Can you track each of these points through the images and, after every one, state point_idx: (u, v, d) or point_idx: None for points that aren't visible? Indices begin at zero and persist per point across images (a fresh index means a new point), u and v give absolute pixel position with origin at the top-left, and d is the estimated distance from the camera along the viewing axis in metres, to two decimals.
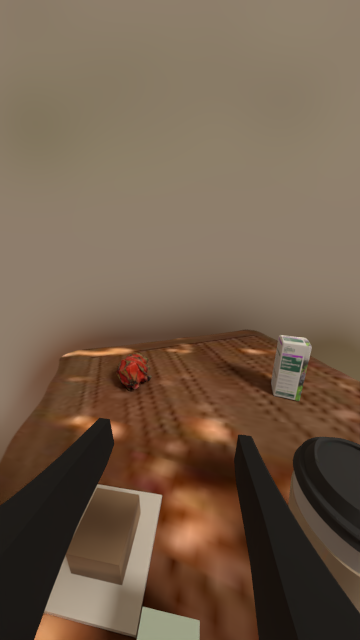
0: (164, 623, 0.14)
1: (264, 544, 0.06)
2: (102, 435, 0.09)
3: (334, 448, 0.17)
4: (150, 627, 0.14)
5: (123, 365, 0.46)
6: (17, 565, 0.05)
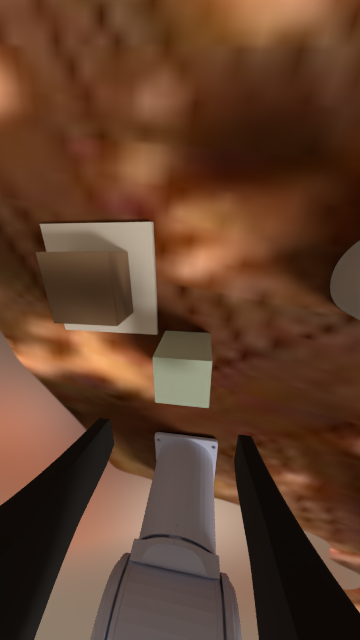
0: (176, 364, 0.14)
1: (264, 544, 0.06)
2: (102, 435, 0.09)
3: None
4: (163, 366, 0.14)
5: None
6: (17, 565, 0.05)
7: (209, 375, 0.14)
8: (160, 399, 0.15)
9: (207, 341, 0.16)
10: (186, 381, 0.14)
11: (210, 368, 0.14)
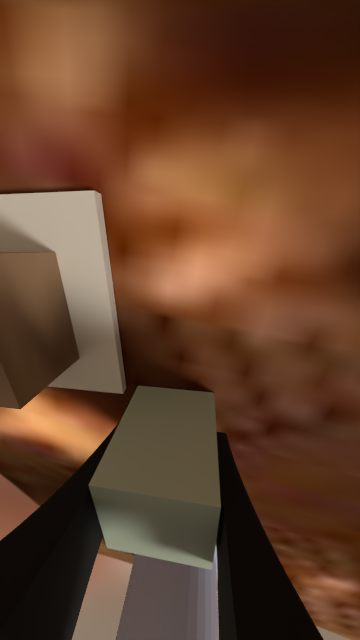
0: (140, 501, 0.06)
1: (223, 536, 0.06)
2: None
3: None
4: (114, 503, 0.06)
5: None
6: (56, 574, 0.05)
7: (214, 527, 0.06)
8: (116, 545, 0.08)
9: (209, 420, 0.09)
10: (165, 529, 0.07)
11: (216, 517, 0.06)
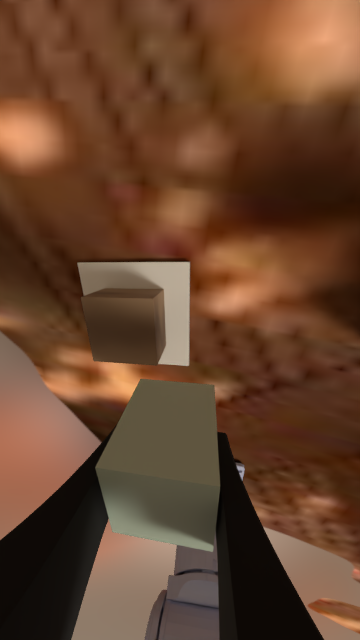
0: (144, 482, 0.07)
1: (224, 536, 0.06)
2: None
3: None
4: (119, 485, 0.07)
5: None
6: (55, 574, 0.05)
7: (214, 507, 0.07)
8: (120, 529, 0.08)
9: (209, 410, 0.09)
10: (167, 511, 0.07)
11: (216, 497, 0.06)
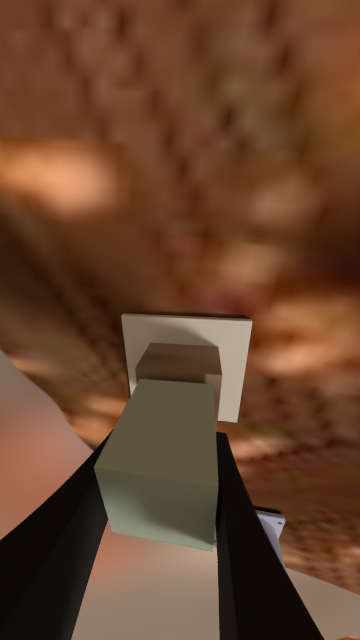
0: (142, 482, 0.07)
1: (224, 537, 0.06)
2: None
3: None
4: (118, 485, 0.07)
5: None
6: (55, 574, 0.05)
7: (213, 507, 0.07)
8: (120, 529, 0.08)
9: (208, 410, 0.09)
10: (166, 511, 0.07)
11: (215, 496, 0.06)
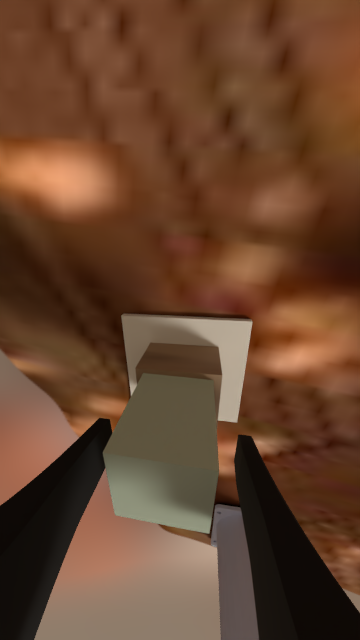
0: (148, 467, 0.07)
1: (264, 544, 0.06)
2: (102, 435, 0.09)
3: None
4: (124, 469, 0.07)
5: None
6: (17, 565, 0.05)
7: (212, 491, 0.07)
8: (123, 512, 0.09)
9: (208, 403, 0.10)
10: (168, 494, 0.08)
11: (215, 481, 0.07)
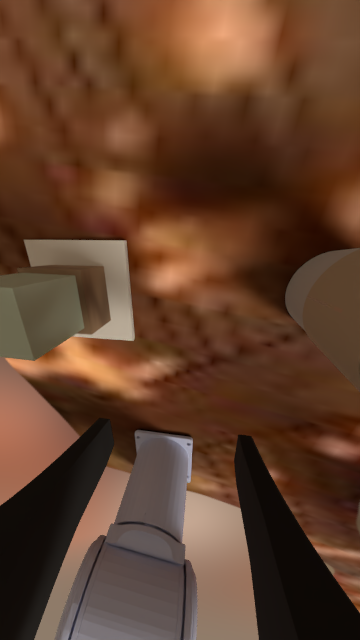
0: None
1: (264, 544, 0.06)
2: (102, 435, 0.09)
3: None
4: None
5: None
6: (17, 565, 0.05)
7: (17, 310, 0.10)
8: None
9: (52, 278, 0.12)
10: None
11: (14, 299, 0.10)
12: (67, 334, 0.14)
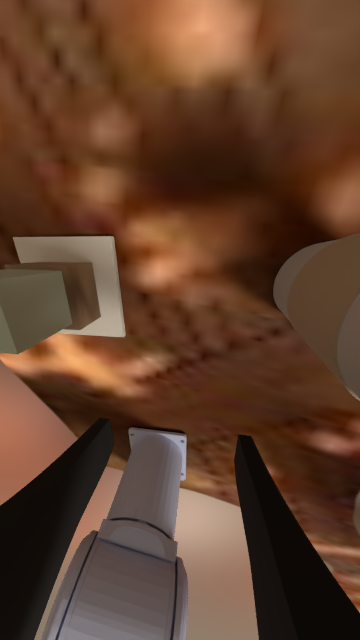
0: None
1: (264, 544, 0.06)
2: (102, 435, 0.09)
3: None
4: None
5: None
6: (17, 565, 0.05)
7: None
8: None
9: (37, 273, 0.13)
10: None
11: None
12: (53, 329, 0.14)
